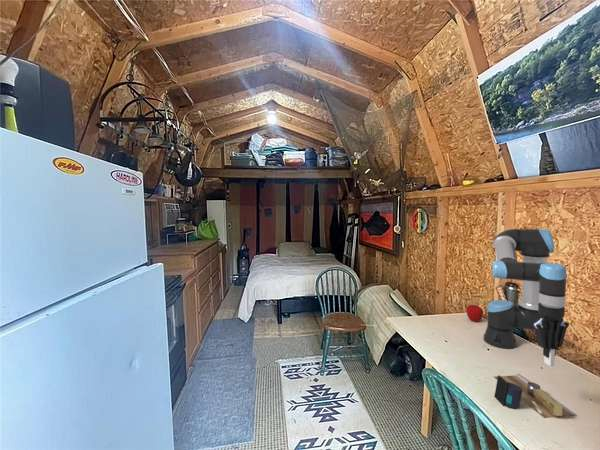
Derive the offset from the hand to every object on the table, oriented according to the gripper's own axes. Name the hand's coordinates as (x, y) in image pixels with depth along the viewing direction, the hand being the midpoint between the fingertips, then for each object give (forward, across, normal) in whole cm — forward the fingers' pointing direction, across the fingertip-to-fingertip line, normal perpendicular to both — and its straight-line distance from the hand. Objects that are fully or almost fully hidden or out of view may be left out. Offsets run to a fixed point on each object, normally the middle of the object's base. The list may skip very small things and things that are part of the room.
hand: (549, 364), depth 109 cm
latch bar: (+15, +3, +2) cm, 15 cm away
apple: (+19, -25, -78) cm, 84 cm away
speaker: (+16, +16, 0) cm, 22 cm away
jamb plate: (+16, +3, -4) cm, 17 cm away
